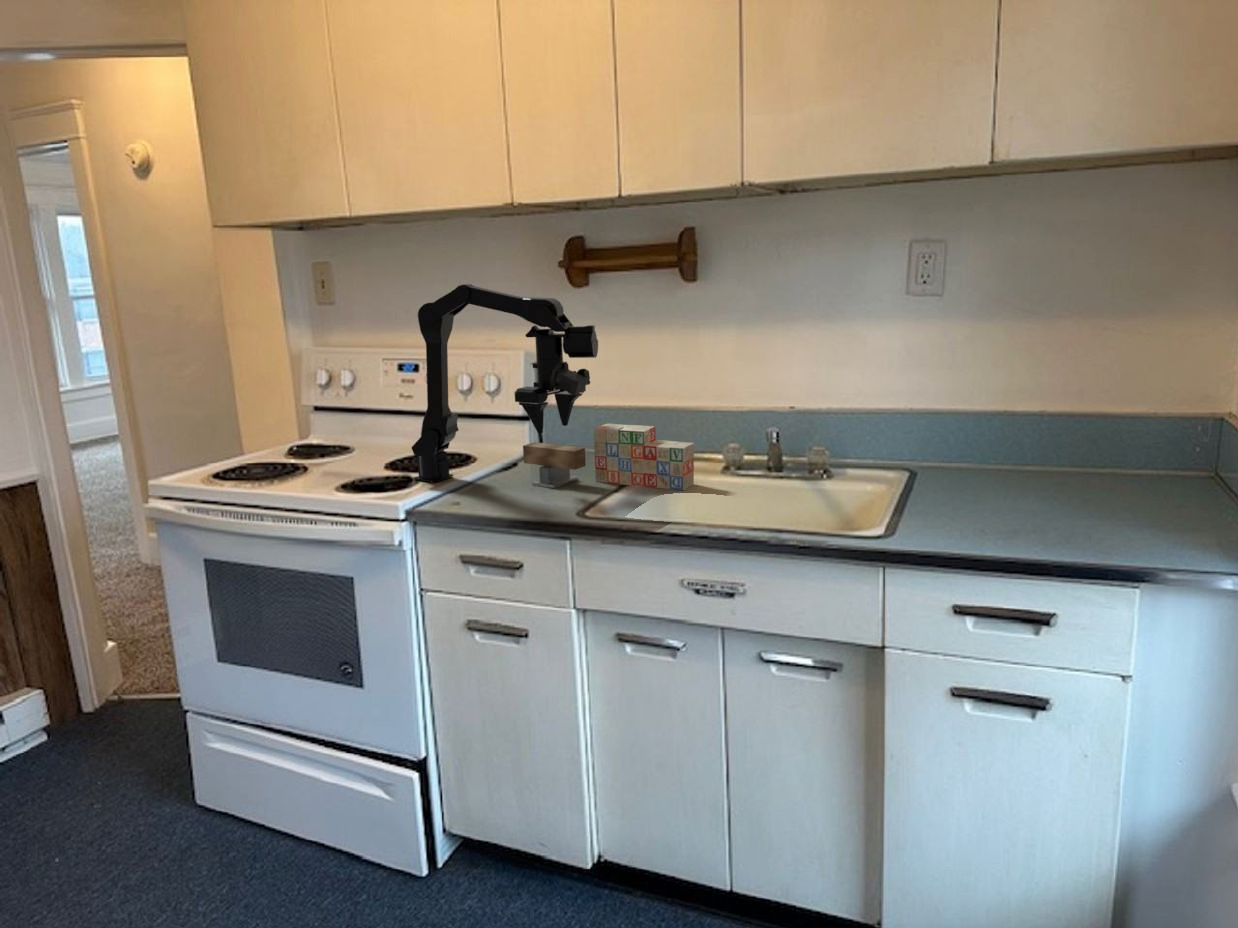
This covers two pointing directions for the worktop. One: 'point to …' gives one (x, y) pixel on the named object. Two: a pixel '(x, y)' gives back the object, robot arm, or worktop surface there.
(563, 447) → the bar
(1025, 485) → the worktop surface
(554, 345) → the robot arm
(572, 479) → the ridge
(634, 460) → the stack of blocks
